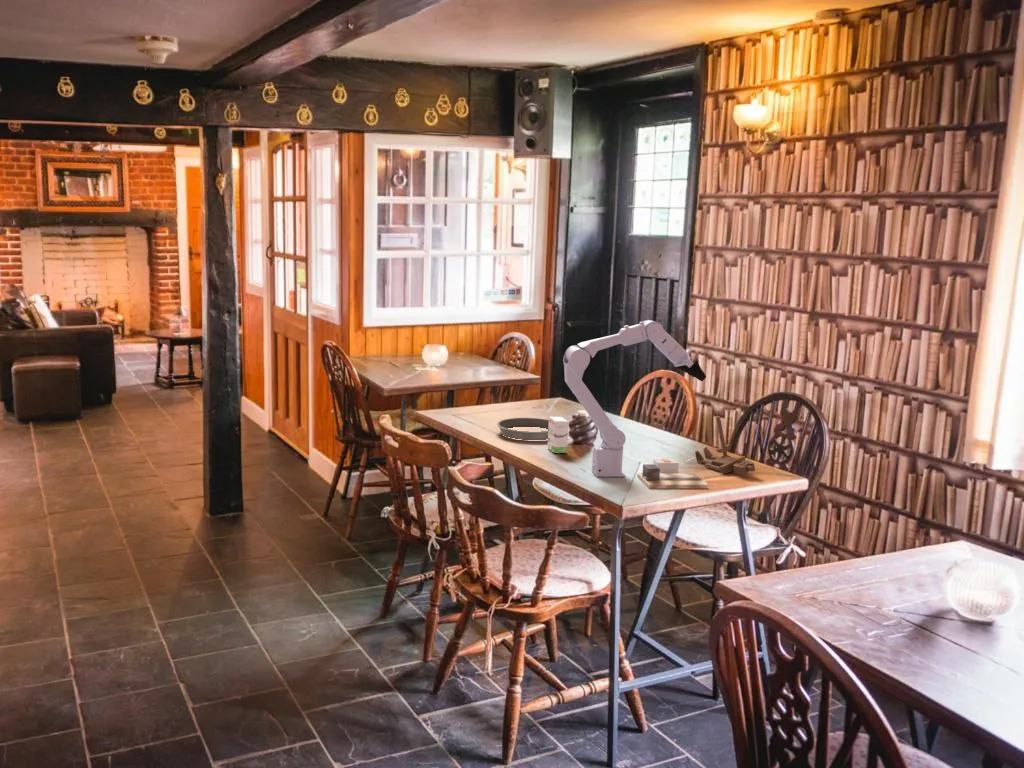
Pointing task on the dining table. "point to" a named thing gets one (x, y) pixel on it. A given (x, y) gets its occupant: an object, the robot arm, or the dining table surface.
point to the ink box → (557, 434)
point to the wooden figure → (724, 458)
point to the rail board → (669, 478)
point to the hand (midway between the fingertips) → (700, 377)
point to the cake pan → (524, 423)
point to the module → (667, 465)
